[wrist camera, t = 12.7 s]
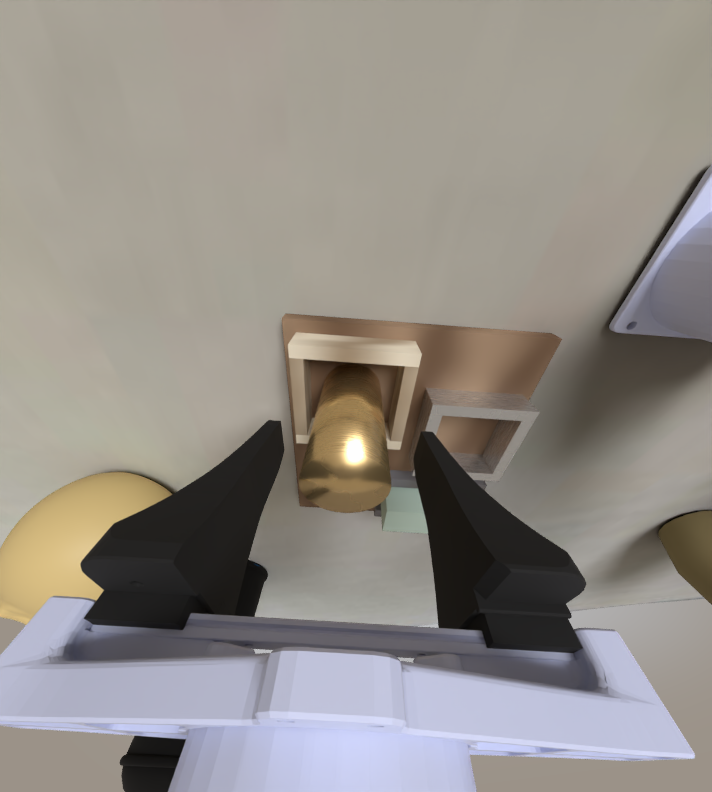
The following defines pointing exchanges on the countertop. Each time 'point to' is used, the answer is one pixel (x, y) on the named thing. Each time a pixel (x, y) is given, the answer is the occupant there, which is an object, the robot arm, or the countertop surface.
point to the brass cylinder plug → (347, 444)
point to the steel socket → (507, 408)
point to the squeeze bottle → (691, 549)
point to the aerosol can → (158, 757)
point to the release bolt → (403, 511)
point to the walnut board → (432, 377)
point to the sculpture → (66, 539)
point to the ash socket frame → (353, 351)
